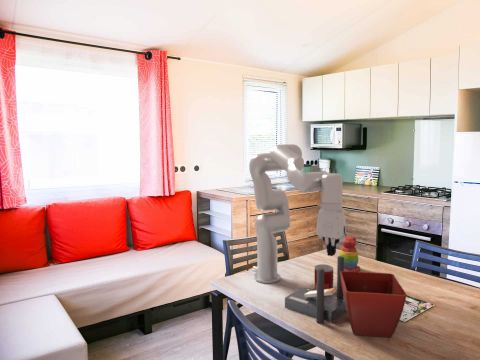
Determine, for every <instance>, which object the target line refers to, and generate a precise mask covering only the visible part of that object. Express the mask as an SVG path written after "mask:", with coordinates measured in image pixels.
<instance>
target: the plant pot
mask: <svg viewBox="0 0 480 360" xmlns="http://www.w3.org/2000/svg"><path fill="white" fill-rule="evenodd" d="M340 275H341V284H342V290H343V296H344V301H345V305H346V312H347V315H348V320H349V324H350V325H349V326H350V329H351V331H352V334H353V335H355V336H366V337H367V336H368V337H377V338H378V337H379V338H380V337H382V338H392V337H393V335H394V334H395V332H396V329H397V327H398V325H399V323H400V320H401V318H402V315H403V311H404V307H405V304H406V300H407V295H408V294H407V293H406V292H405V290H404V288H403V287H402V285H401V284H400V282H399V281H398V279H397V278H396V276H395V275H394V274H393V273H388V272H387V273H386V272H369V271H367V272H365V271H359V272H352V271H341V272H340Z"/></svg>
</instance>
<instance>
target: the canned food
mask: <svg viewBox="0 0 480 360" xmlns="http://www.w3.org/2000/svg"><path fill="white" fill-rule="evenodd" d="M318 268H323V269H324V290H325V289H330V288H334V267H333V266H332V265H330V264H322V263H321V264H320V263H319V264H316V265H315V266H314V285H313V287H314V291H316V290H317V269H318Z"/></svg>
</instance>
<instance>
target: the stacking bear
mask: <svg viewBox="0 0 480 360" xmlns="http://www.w3.org/2000/svg"><path fill="white" fill-rule="evenodd" d="M345 239H346V241H344V242H341V243H342V247H341V249H340V251H339V254H338V256H342V257H344V271H352V272H361V267H360V265H358V264H359V253H358V250H357V247H356V244H357V238H356V236H351V235H348V236H347V235H346V236H345Z"/></svg>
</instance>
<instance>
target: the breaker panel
mask: <svg viewBox="0 0 480 360" xmlns="http://www.w3.org/2000/svg"><path fill="white" fill-rule="evenodd" d="M309 291H313V289H309V288H306V287H300V288H298V289H296V290H295V291H293V292H292V293H290V294H289V295H287V296H286V297H284V309H288V310H291V311H295V312H297V313H300V314H303V315H306V316H309V317H313V318H315V319H316V311H317V296H316V297H305V296H304V294H306V293H307V292H309ZM345 311H346V312H347V309H346V305H345V301H344V299H341V298H337V296H333V295H326V296H324V322H327V323H331V324H332V323H333V322H335V320H337V319H339V317H340V316H342V314H344V312H345Z"/></svg>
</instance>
